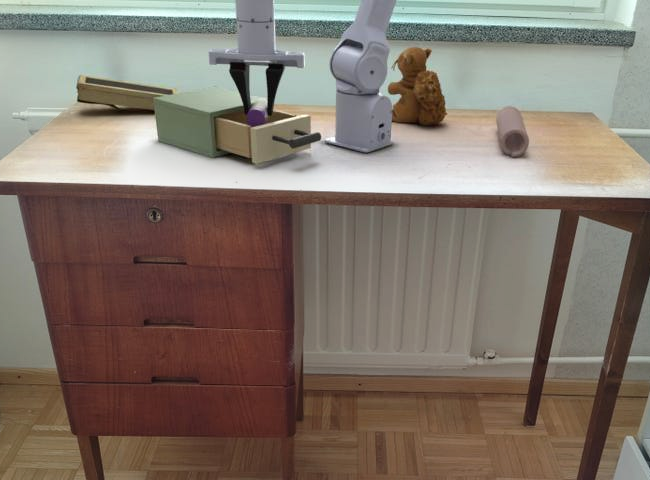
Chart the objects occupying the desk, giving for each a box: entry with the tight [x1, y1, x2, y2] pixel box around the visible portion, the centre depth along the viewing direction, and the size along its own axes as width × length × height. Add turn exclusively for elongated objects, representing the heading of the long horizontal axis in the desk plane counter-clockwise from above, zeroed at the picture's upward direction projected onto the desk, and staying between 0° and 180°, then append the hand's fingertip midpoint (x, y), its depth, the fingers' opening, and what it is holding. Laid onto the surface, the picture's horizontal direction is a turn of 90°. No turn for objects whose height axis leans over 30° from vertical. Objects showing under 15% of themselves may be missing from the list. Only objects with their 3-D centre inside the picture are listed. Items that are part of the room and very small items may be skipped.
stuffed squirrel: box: [387, 46, 449, 127], centre depth 132 cm, size 10×14×13 cm
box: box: [75, 74, 180, 112], centre depth 135 cm, size 8×22×5 cm, turn 107°
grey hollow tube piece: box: [495, 105, 530, 158], centre depth 123 cm, size 5×5×18 cm
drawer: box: [214, 108, 322, 165], centre depth 111 cm, size 18×12×5 cm
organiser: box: [153, 86, 267, 159], centre depth 117 cm, size 14×14×7 cm
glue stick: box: [246, 99, 269, 128], centre depth 110 cm, size 8×3×3 cm, turn 179°
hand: (259, 114), depth 110 cm, fingers closed on glue stick, 3 cm apart
